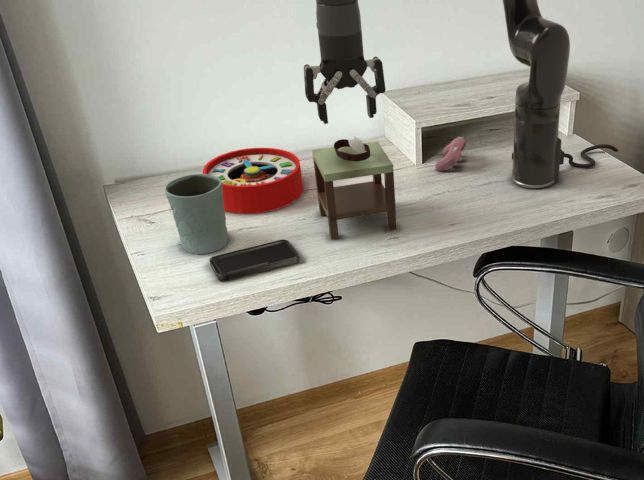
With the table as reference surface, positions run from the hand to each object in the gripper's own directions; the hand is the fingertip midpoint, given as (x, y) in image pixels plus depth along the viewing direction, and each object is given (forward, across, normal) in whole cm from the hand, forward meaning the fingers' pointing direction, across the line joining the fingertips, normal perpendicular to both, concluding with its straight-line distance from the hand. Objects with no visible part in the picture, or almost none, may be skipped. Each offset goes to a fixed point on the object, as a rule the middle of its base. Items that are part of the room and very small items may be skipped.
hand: (348, 119), depth 150 cm
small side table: (+21, 0, 0) cm, 21 cm away
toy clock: (+21, -18, +20) cm, 34 cm away
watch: (+8, 0, 0) cm, 8 cm away
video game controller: (+21, +26, +20) cm, 39 cm away
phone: (+21, -22, -10) cm, 32 cm away
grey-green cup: (+21, -30, +1) cm, 36 cm away
